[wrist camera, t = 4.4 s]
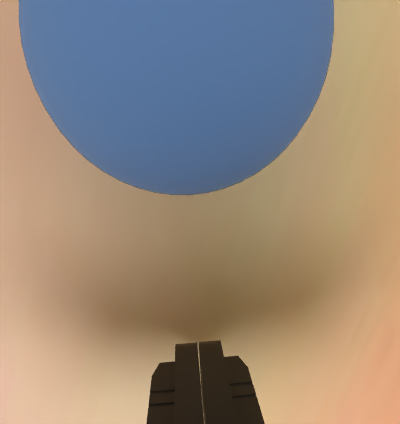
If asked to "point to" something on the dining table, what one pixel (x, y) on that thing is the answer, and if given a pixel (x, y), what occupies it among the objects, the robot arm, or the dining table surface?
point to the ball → (178, 83)
